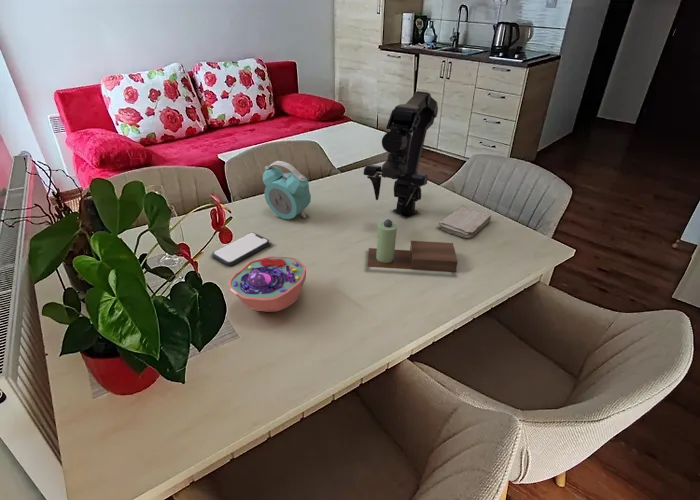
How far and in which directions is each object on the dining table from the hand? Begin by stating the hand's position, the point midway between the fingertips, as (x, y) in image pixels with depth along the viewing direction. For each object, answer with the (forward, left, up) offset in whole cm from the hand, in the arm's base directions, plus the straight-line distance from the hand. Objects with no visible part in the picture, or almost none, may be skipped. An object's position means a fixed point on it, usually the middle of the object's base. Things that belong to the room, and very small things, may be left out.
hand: (391, 202), depth 132 cm
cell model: (+46, +3, -13) cm, 48 cm away
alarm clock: (+16, -33, -13) cm, 39 cm away
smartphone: (+40, -23, -13) cm, 48 cm away
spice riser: (+5, +14, -13) cm, 20 cm away
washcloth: (-27, +10, -13) cm, 32 cm away
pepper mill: (+10, +9, -11) cm, 18 cm away
